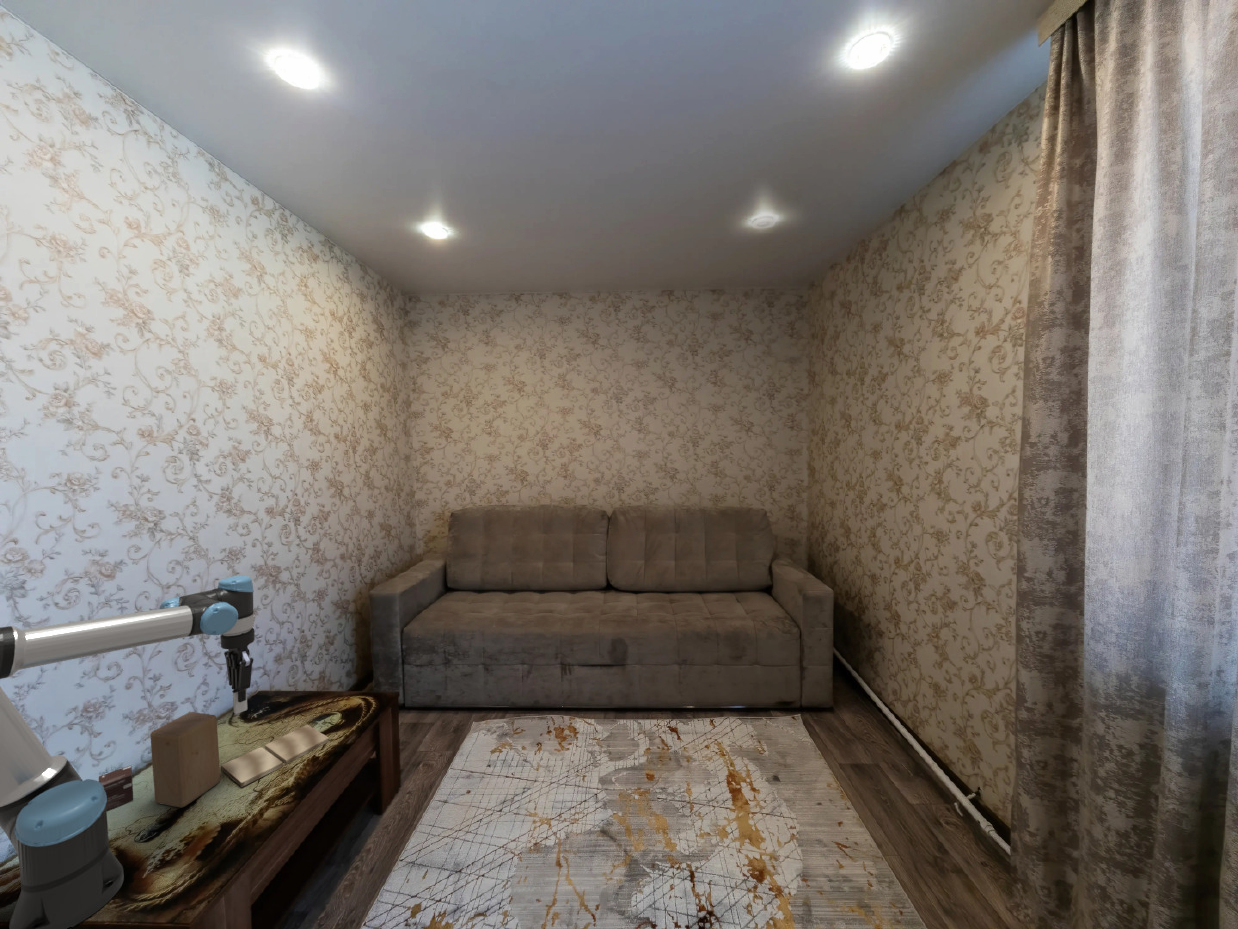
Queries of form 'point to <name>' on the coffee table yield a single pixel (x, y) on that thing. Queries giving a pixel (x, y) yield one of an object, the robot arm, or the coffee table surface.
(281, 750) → the laid boards
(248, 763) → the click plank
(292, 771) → the coffee table surface
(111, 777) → the box
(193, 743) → the wooden block
